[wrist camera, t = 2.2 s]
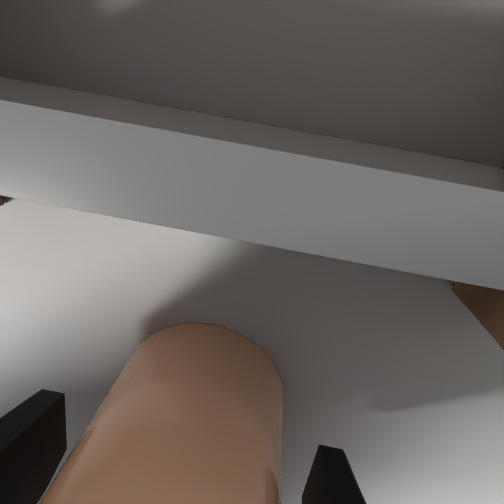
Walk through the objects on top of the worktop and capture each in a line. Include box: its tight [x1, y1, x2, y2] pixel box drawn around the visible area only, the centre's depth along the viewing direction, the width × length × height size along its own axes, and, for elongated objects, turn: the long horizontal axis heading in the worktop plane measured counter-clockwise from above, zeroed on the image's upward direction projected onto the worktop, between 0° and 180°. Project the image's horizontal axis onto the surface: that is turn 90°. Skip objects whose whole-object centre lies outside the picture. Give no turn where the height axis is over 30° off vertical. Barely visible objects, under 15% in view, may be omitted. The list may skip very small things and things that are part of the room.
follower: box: [0, 76, 504, 290], centre depth 6 cm, size 1×11×4 cm, turn 80°
